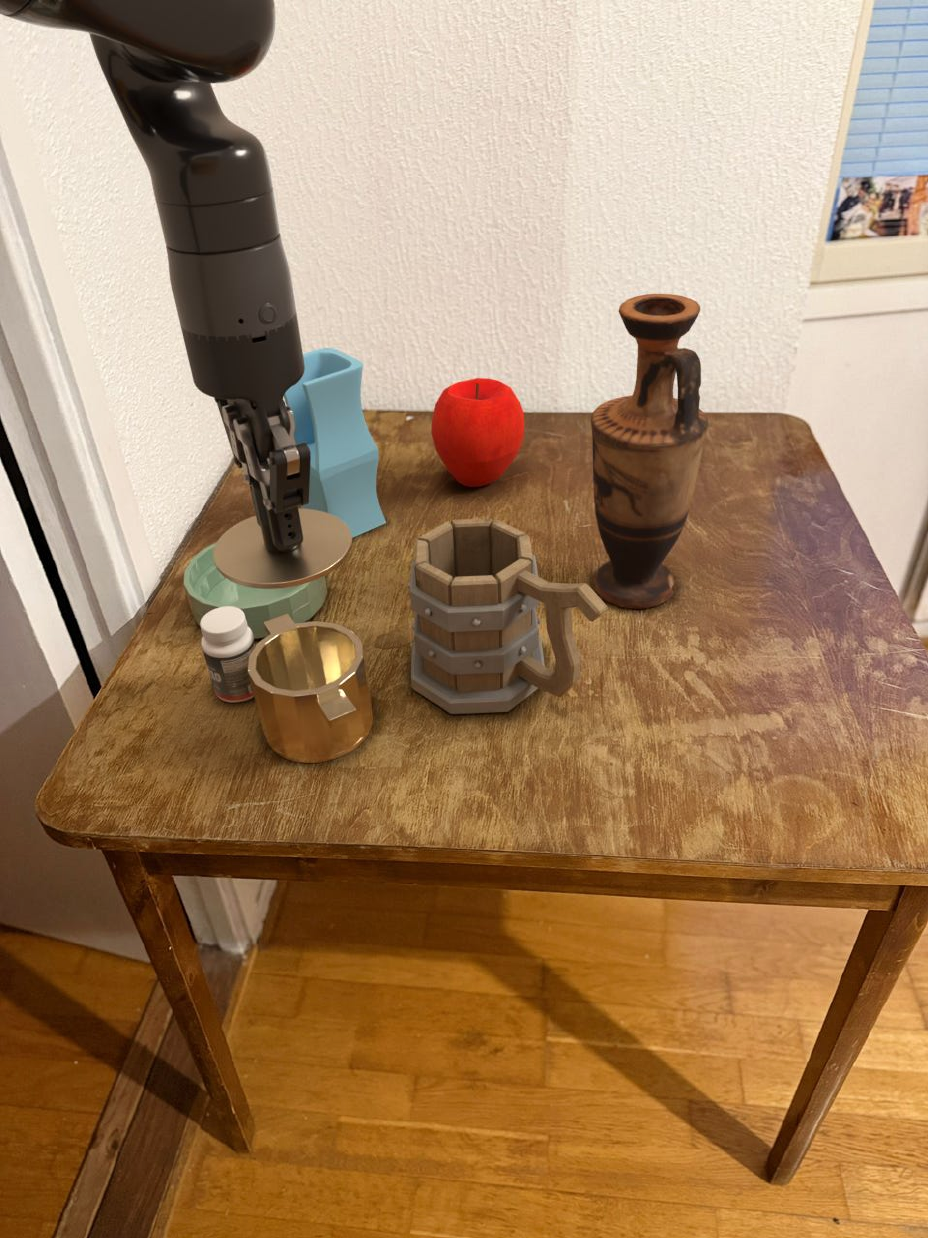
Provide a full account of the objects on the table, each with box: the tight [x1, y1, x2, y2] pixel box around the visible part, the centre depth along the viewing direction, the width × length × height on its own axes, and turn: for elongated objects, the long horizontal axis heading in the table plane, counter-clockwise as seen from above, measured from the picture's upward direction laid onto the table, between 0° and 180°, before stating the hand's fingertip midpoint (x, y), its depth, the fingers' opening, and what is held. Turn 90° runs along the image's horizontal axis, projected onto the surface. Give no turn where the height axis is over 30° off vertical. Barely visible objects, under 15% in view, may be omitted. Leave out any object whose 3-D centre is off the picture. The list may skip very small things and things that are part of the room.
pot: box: [248, 614, 374, 764], centre depth 78 cm, size 10×15×8 cm, turn 30°
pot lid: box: [213, 479, 353, 589], centre depth 67 cm, size 11×11×7 cm
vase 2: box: [590, 293, 709, 610], centre depth 86 cm, size 11×11×30 cm
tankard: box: [407, 517, 608, 715], centre depth 79 cm, size 20×13×15 cm, turn 46°
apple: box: [430, 377, 525, 488], centre depth 110 cm, size 12×12×13 cm
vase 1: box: [283, 347, 387, 539], centre depth 102 cm, size 8×8×20 cm
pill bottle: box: [199, 606, 257, 703], centre depth 82 cm, size 5×5×8 cm
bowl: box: [183, 541, 328, 640], centre depth 95 cm, size 14×14×4 cm
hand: (281, 534), depth 68 cm, fingers closed on pot lid, 3 cm apart
